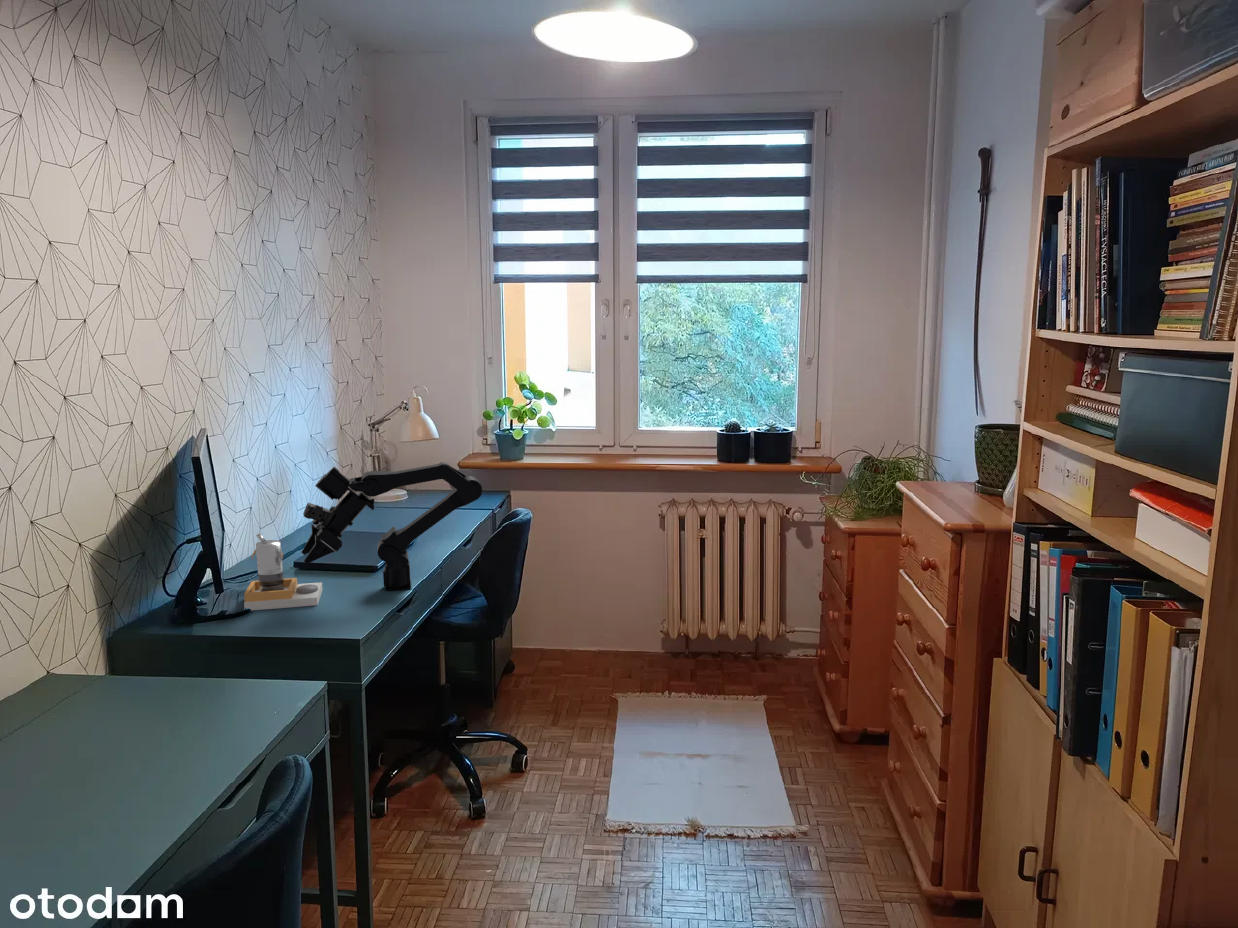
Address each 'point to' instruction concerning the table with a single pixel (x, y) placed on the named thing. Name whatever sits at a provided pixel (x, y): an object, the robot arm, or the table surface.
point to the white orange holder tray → (283, 595)
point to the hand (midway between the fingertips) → (304, 558)
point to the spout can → (269, 564)
